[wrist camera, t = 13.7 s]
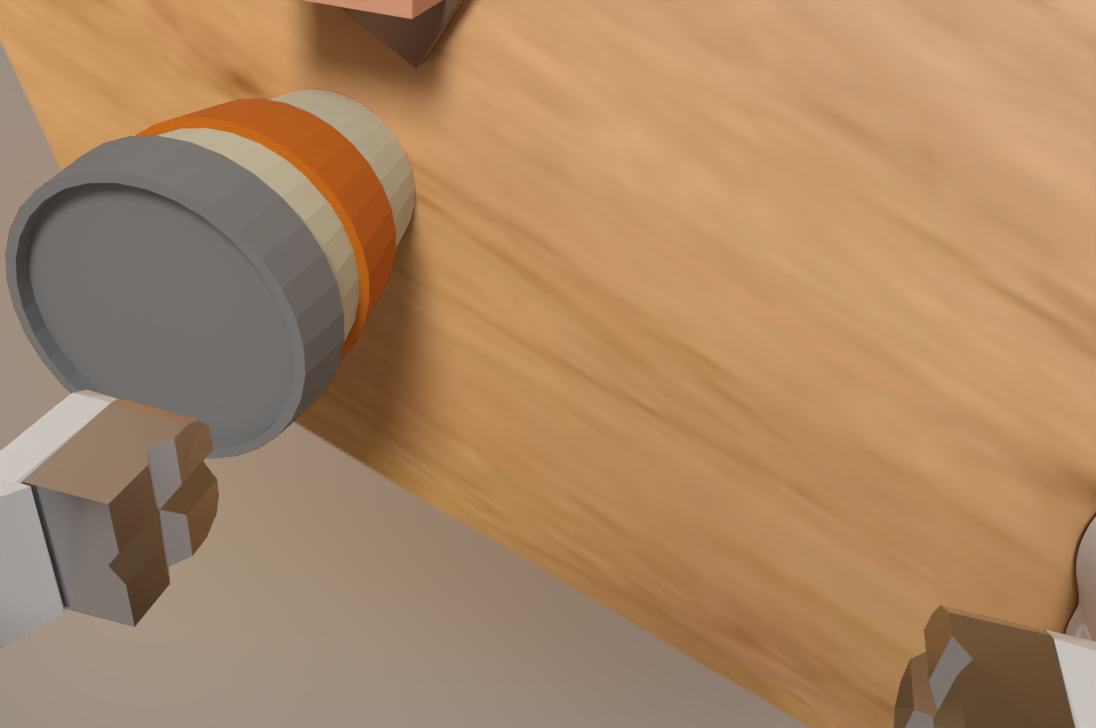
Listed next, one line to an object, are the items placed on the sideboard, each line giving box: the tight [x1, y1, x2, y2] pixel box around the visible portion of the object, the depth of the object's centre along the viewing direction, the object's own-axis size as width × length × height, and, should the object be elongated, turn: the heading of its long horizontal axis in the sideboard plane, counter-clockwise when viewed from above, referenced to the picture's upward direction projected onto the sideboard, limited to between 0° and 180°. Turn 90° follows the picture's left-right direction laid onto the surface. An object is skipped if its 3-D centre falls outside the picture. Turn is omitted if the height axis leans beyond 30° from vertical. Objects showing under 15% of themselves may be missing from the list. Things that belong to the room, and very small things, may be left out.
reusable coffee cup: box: [5, 89, 415, 458], centre depth 41 cm, size 13×12×15 cm
